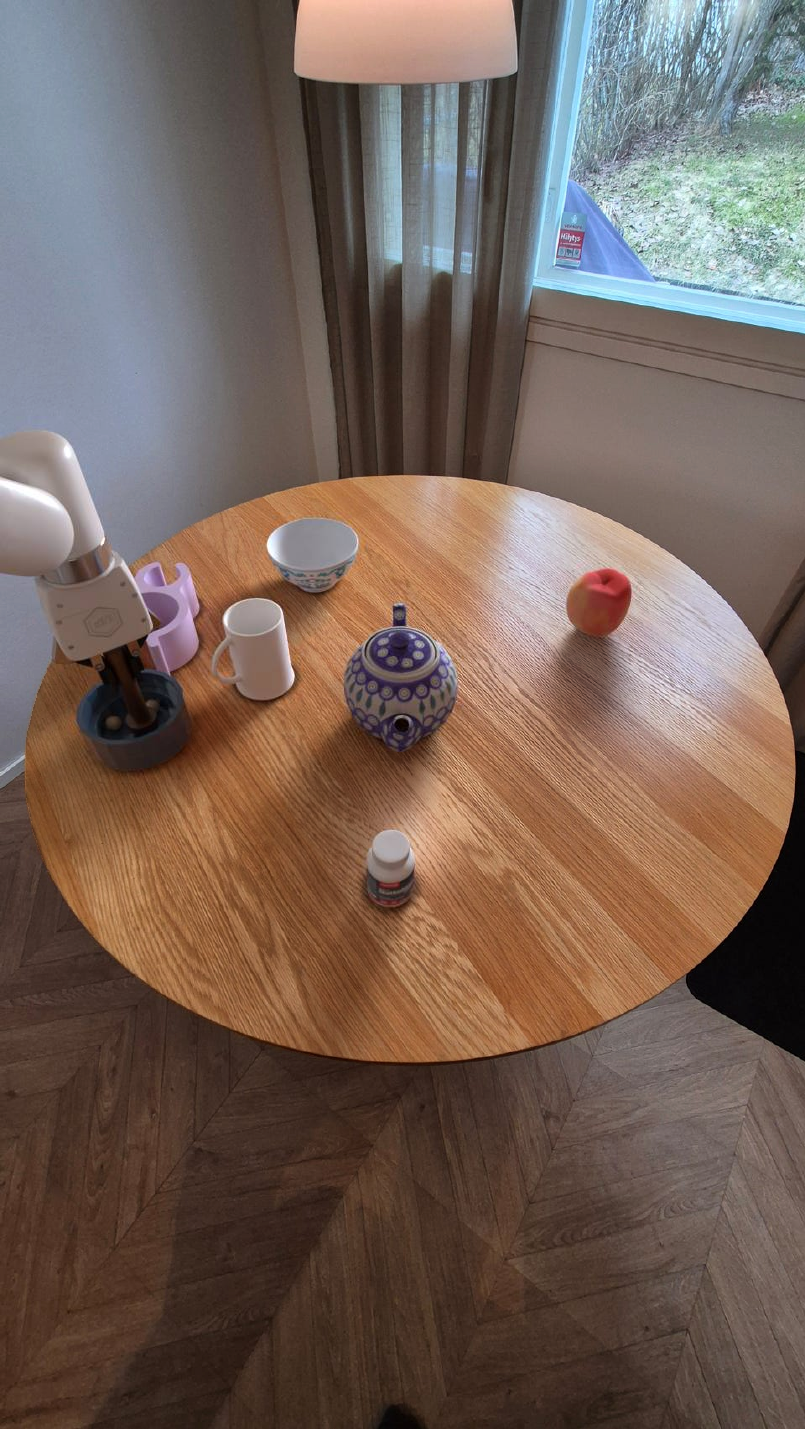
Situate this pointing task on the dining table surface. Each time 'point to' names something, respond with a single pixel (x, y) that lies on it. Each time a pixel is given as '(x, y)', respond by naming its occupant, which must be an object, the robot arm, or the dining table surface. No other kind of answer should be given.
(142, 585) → the clip
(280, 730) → the dining table surface
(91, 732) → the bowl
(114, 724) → the bead
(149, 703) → the bead
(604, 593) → the apple
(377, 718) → the teapot
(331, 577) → the chinaware
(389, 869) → the pill bottle
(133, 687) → the rod
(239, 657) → the mug
